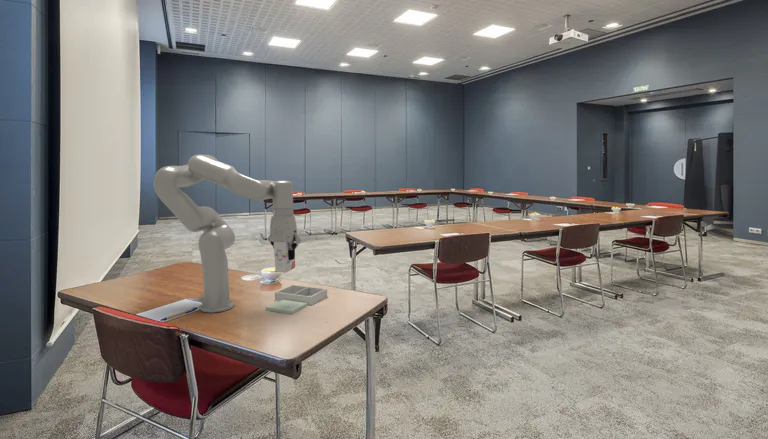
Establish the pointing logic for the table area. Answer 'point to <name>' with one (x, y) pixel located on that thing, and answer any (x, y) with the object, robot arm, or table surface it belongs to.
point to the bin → (301, 294)
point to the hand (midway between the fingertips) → (284, 258)
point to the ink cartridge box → (282, 257)
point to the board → (286, 306)
